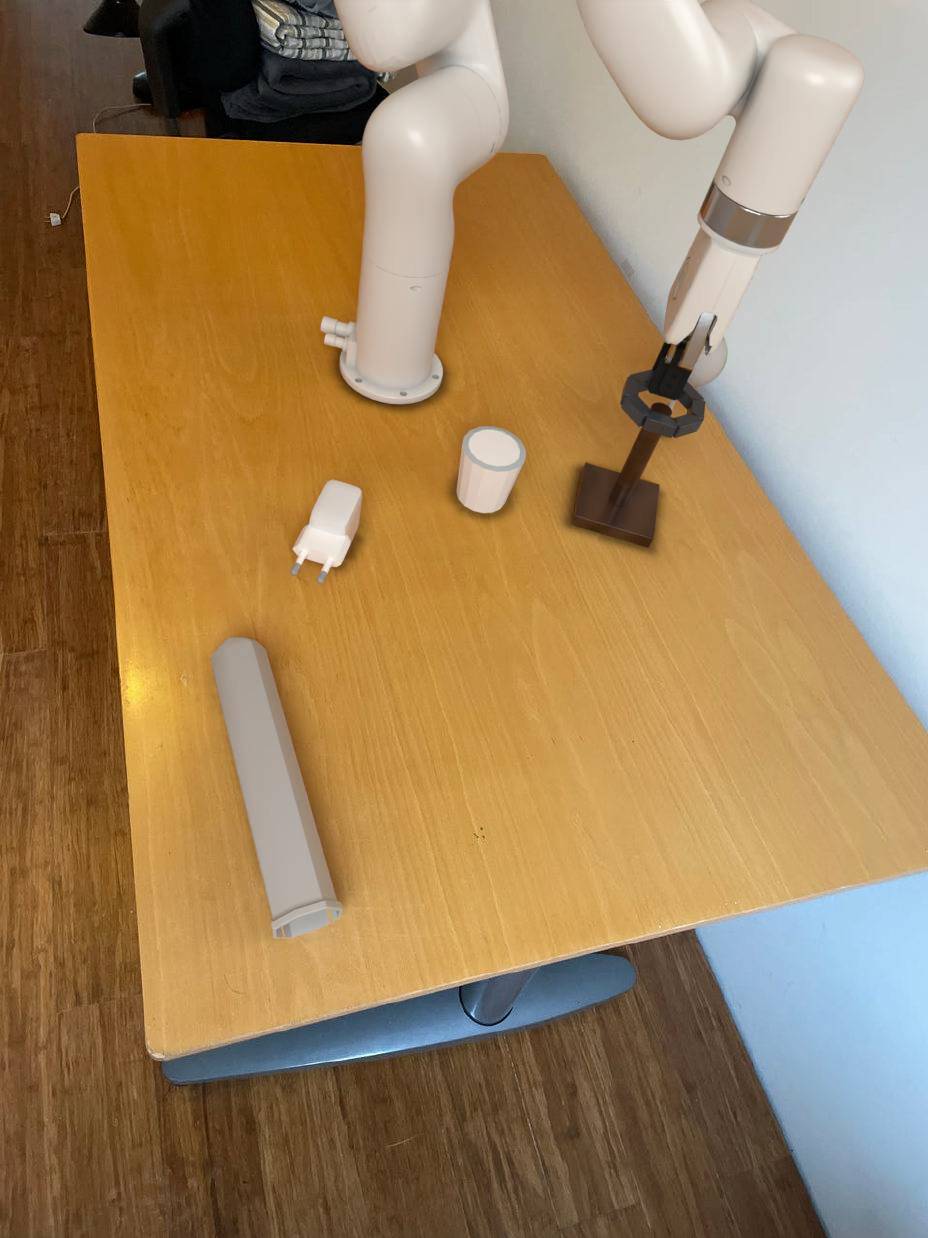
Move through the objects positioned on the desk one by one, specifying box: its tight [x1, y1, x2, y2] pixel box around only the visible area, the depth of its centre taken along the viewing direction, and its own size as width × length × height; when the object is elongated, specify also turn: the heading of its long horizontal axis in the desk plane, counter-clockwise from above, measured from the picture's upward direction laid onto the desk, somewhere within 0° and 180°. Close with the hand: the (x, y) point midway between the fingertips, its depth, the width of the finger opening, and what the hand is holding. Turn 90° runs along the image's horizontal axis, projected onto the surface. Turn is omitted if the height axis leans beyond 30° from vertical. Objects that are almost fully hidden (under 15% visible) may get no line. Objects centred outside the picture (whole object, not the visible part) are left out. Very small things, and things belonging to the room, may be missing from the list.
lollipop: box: [667, 335, 729, 411], centre depth 97 cm, size 7×7×15 cm
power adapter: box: [289, 479, 363, 585], centre depth 79 cm, size 11×5×6 cm, turn 166°
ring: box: [619, 368, 706, 439], centre depth 81 cm, size 8×8×1 cm
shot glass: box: [455, 425, 527, 514], centre depth 88 cm, size 7×7×7 cm
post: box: [571, 401, 673, 549], centre depth 87 cm, size 9×9×14 cm
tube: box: [210, 637, 344, 940], centre depth 65 cm, size 5×5×25 cm
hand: (663, 386), depth 83 cm, fingers closed on ring, 1 cm apart
